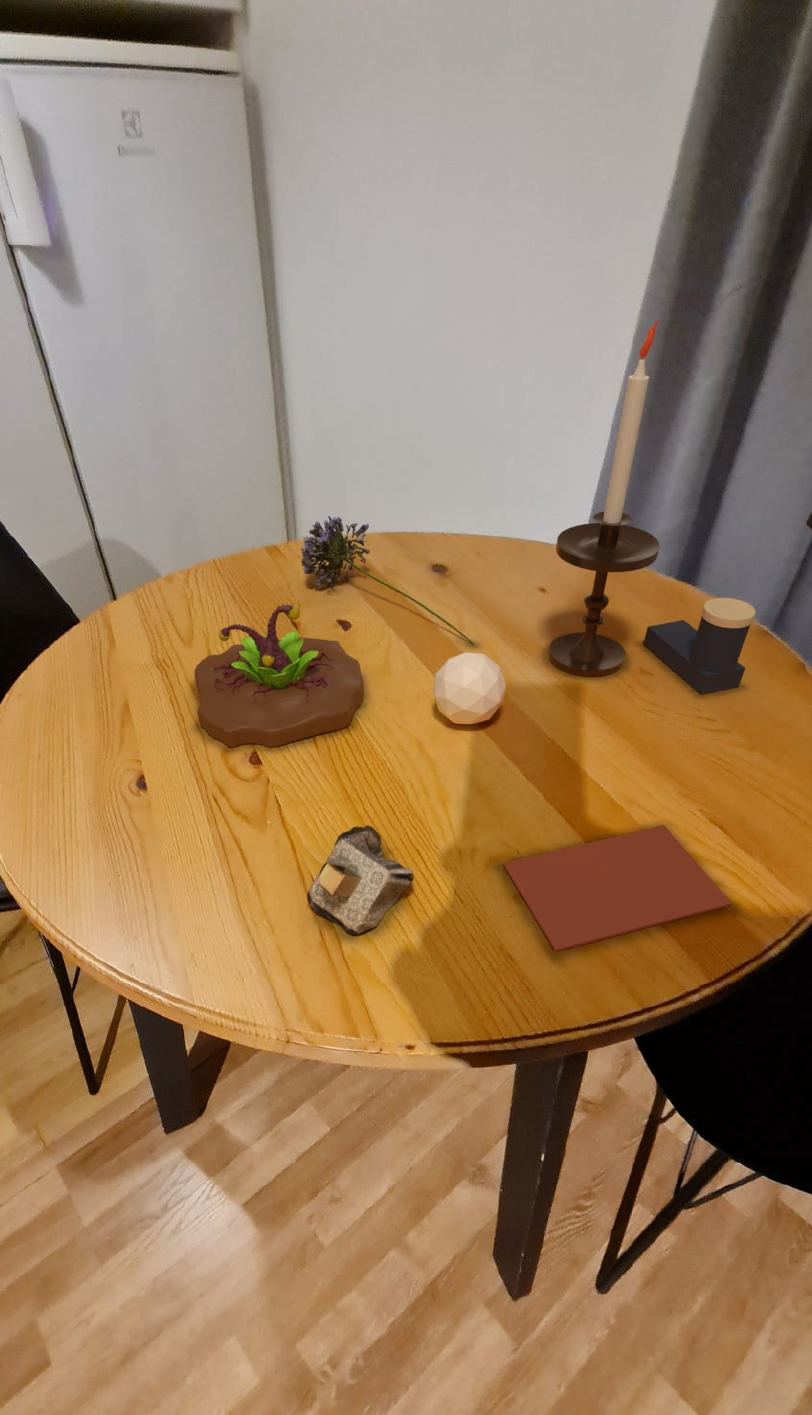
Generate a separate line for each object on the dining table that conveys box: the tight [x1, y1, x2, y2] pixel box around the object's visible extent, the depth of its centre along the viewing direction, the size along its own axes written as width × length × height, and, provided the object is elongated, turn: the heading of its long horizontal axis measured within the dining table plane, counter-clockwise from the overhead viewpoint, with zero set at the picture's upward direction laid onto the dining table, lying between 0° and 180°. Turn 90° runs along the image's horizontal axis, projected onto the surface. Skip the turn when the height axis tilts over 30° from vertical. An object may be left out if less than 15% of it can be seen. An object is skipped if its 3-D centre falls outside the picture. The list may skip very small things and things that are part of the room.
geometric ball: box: [432, 651, 507, 725], centre depth 81 cm, size 8×8×8 cm
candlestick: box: [547, 319, 660, 678], centre depth 80 cm, size 11×11×35 cm
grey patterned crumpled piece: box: [306, 824, 415, 935], centre depth 64 cm, size 8×7×12 cm
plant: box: [194, 604, 364, 748], centre depth 85 cm, size 20×20×11 cm
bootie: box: [643, 597, 756, 696], centre depth 87 cm, size 12×5×9 cm, turn 16°
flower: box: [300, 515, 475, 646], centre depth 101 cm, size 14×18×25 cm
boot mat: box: [502, 824, 733, 953], centre depth 64 cm, size 16×10×1 cm, turn 106°
